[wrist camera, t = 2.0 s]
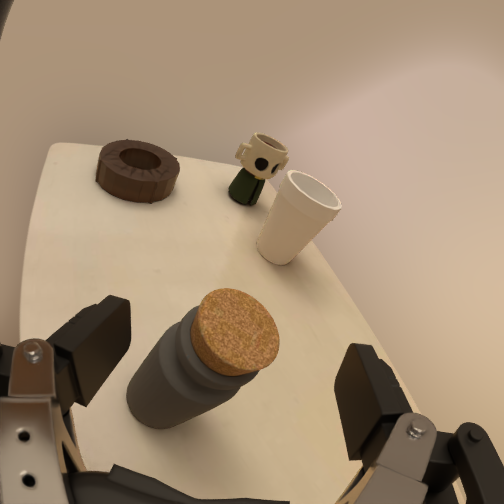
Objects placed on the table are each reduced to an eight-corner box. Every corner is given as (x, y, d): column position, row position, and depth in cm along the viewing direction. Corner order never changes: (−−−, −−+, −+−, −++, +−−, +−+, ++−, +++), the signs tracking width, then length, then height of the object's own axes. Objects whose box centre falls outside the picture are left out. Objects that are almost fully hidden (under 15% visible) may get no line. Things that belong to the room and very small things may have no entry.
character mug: (222, 204, 51) (254, 142, 44) (212, 183, 55) (239, 125, 48) (270, 212, 57) (303, 158, 50) (257, 191, 62) (285, 141, 54)
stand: (81, 182, 38) (84, 160, 36) (118, 151, 49) (123, 133, 47) (158, 213, 41) (165, 192, 39) (181, 176, 52) (188, 158, 50)
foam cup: (238, 231, 47) (275, 165, 40) (278, 231, 53) (315, 174, 46) (267, 275, 43) (315, 207, 35) (306, 269, 48) (352, 211, 41)
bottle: (156, 359, 25) (232, 263, 17) (198, 403, 24) (303, 336, 16) (112, 392, 20) (161, 309, 12) (159, 441, 19) (255, 406, 11)
